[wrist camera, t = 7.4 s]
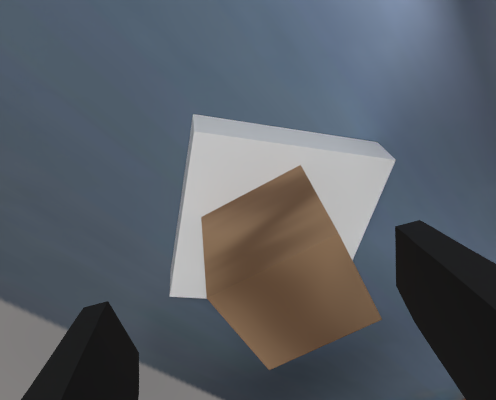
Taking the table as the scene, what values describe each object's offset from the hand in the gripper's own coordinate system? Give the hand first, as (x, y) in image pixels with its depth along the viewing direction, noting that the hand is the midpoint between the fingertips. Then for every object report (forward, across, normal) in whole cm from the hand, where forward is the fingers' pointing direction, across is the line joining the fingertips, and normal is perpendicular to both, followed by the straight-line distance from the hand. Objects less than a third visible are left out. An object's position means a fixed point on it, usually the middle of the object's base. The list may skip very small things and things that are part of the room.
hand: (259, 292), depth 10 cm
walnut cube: (+8, -1, +4) cm, 9 cm away
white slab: (+10, -1, +4) cm, 11 cm away
